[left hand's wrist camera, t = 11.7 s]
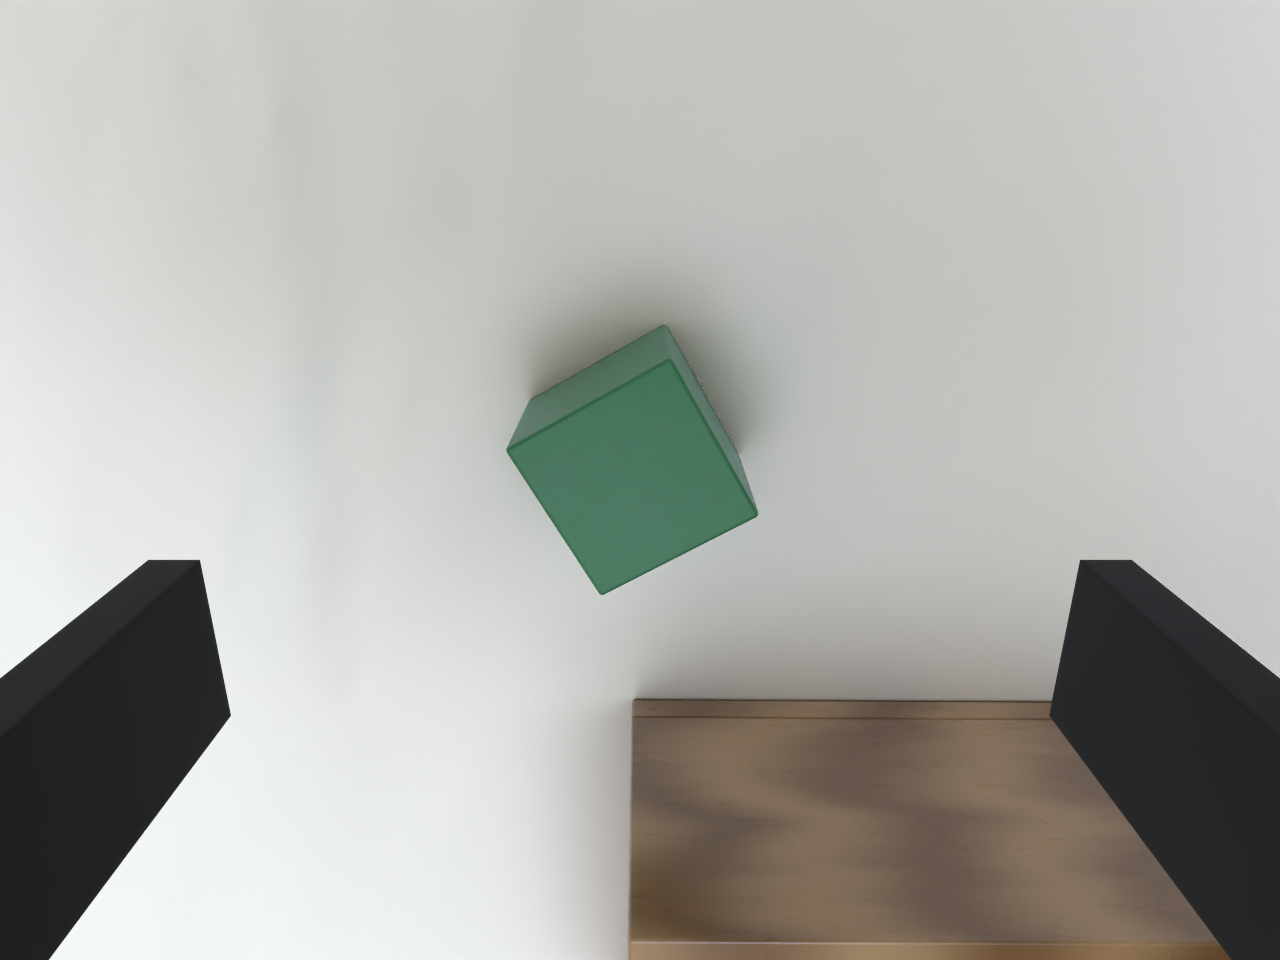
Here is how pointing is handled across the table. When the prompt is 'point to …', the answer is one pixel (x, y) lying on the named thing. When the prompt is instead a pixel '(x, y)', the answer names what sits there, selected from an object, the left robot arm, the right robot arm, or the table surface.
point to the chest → (885, 839)
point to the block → (632, 462)
